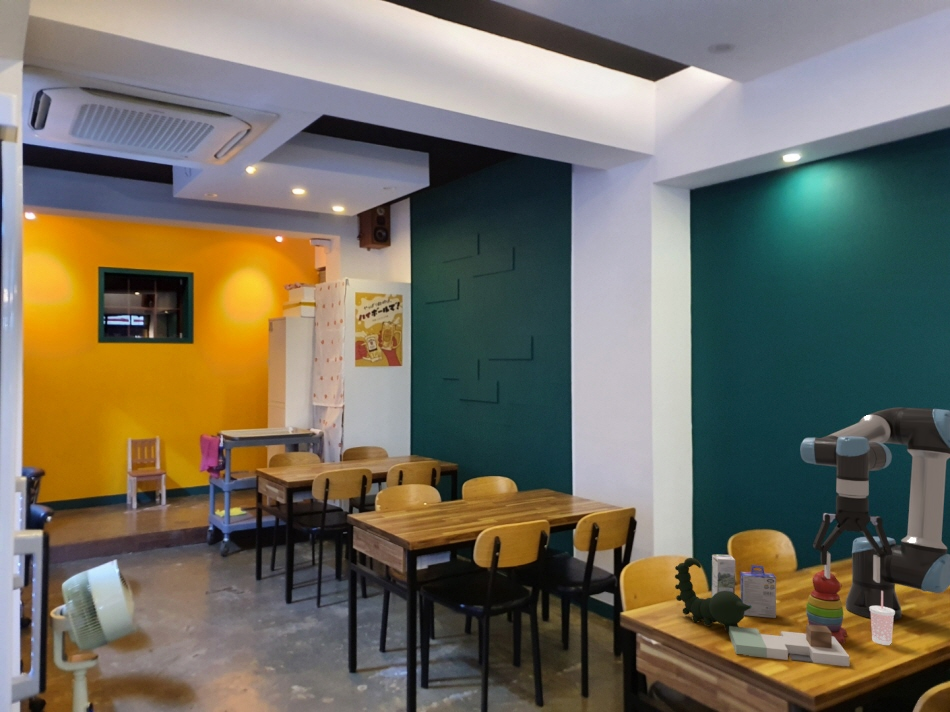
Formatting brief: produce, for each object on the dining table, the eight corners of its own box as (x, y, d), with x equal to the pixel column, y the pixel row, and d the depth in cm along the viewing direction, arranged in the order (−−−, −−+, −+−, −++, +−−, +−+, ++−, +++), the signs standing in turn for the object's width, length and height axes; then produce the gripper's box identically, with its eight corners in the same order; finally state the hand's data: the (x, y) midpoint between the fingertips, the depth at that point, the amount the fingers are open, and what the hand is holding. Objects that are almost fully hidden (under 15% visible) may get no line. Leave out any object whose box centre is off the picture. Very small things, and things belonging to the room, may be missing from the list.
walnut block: (826, 641, 184) (826, 626, 184) (831, 648, 179) (831, 632, 179) (806, 639, 185) (806, 624, 185) (810, 646, 180) (810, 630, 180)
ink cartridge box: (773, 612, 213) (773, 565, 214) (777, 618, 208) (777, 570, 208) (739, 609, 215) (739, 563, 216) (742, 615, 210) (743, 568, 210)
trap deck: (833, 645, 188) (833, 636, 188) (849, 666, 174) (849, 656, 174) (729, 635, 194) (729, 626, 194) (736, 654, 180) (736, 644, 180)
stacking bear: (844, 645, 188) (845, 579, 189) (803, 637, 194) (804, 573, 194) (847, 633, 197) (847, 570, 198) (808, 625, 203) (809, 564, 203)
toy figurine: (670, 621, 209) (741, 641, 188) (667, 557, 211) (736, 570, 190) (691, 616, 214) (762, 635, 193) (687, 553, 216) (758, 565, 195)
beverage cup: (888, 647, 187) (889, 595, 187) (865, 640, 192) (865, 589, 192) (898, 643, 191) (899, 592, 191) (875, 636, 196) (875, 586, 196)
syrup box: (728, 598, 226) (729, 554, 227) (735, 604, 221) (735, 558, 221) (711, 598, 227) (711, 553, 227) (717, 604, 221) (717, 558, 221)
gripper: (896, 495, 183) (896, 579, 182) (800, 490, 188) (800, 571, 187) (907, 500, 175) (907, 587, 175) (807, 494, 181) (806, 579, 180)
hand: (851, 579), depth 181 cm, fingers open, 11 cm apart
